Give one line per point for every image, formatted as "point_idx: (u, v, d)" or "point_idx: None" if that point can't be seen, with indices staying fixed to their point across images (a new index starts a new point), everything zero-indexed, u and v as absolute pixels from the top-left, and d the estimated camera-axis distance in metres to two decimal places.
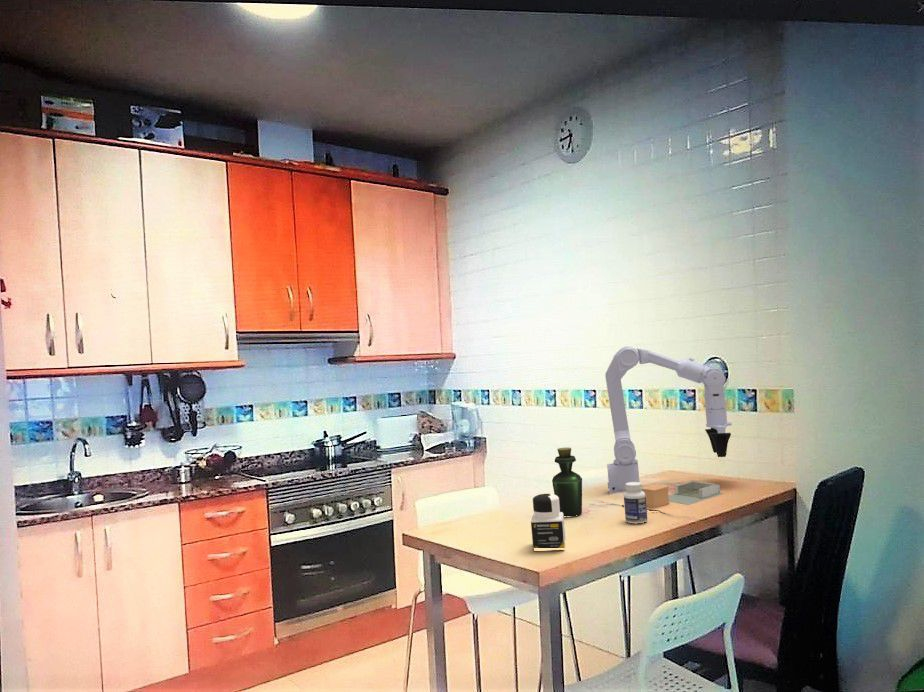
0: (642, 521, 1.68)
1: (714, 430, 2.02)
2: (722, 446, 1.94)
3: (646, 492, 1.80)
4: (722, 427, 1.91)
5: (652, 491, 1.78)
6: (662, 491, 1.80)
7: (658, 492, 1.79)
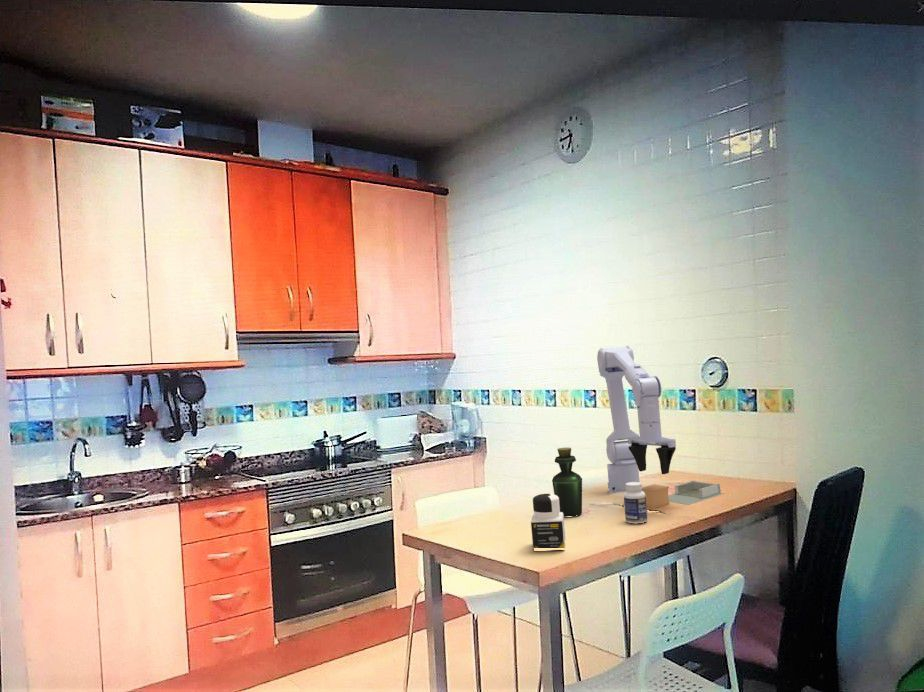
0: (642, 521, 1.68)
1: None
2: None
3: (646, 492, 1.80)
4: None
5: (652, 491, 1.78)
6: (662, 491, 1.80)
7: (658, 492, 1.79)
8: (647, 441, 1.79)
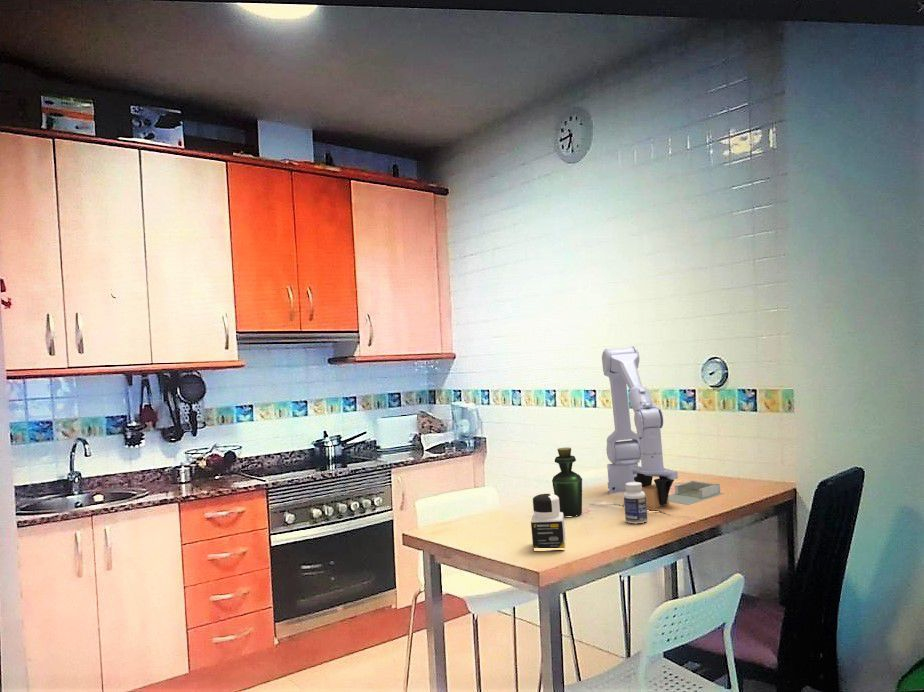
0: (642, 521, 1.68)
1: None
2: None
3: (646, 491, 1.80)
4: None
5: (652, 491, 1.78)
6: None
7: None
8: (649, 472, 1.79)
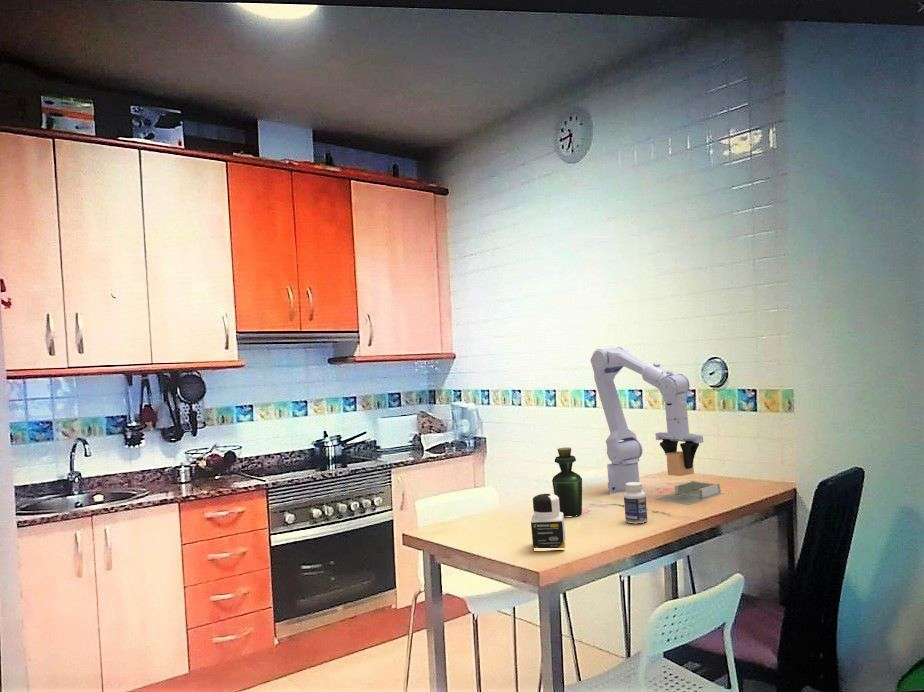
0: (642, 521, 1.68)
1: None
2: None
3: (671, 456, 1.85)
4: None
5: (677, 455, 1.83)
6: None
7: (683, 456, 1.84)
8: (675, 437, 1.84)
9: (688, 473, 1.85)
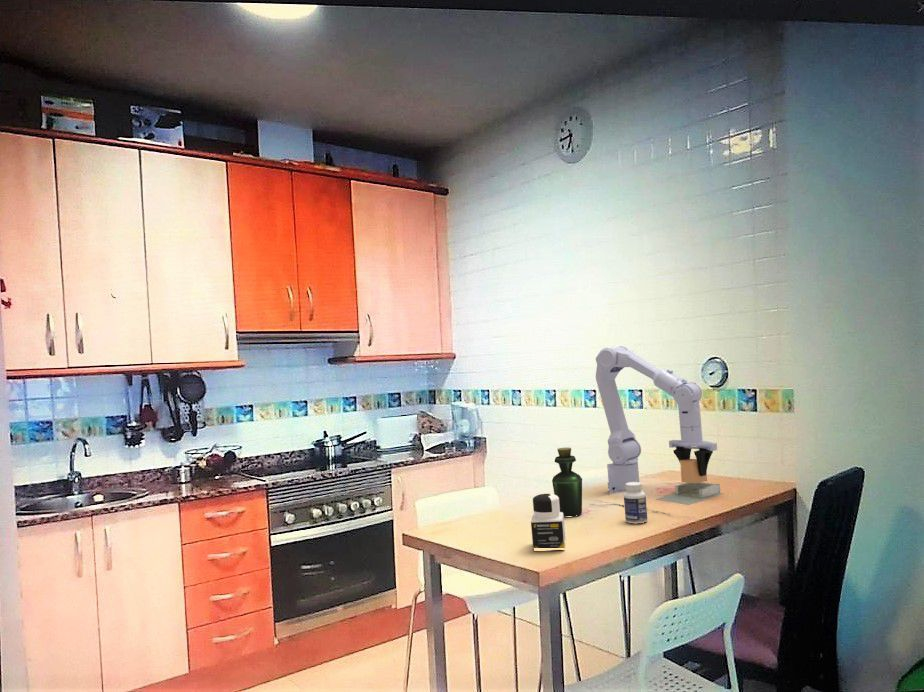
0: (642, 521, 1.68)
1: None
2: None
3: (685, 463, 1.87)
4: None
5: (691, 462, 1.86)
6: None
7: (697, 464, 1.87)
8: (689, 445, 1.86)
9: (702, 480, 1.87)
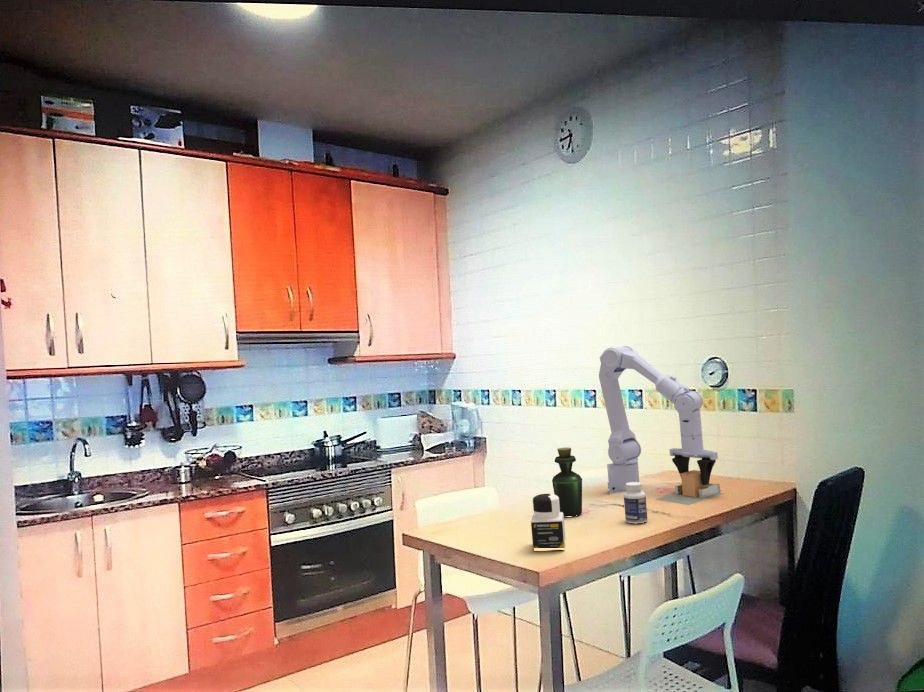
0: (642, 521, 1.68)
1: None
2: None
3: (686, 477, 1.87)
4: None
5: (692, 476, 1.85)
6: None
7: (698, 477, 1.86)
8: (690, 453, 1.86)
9: None
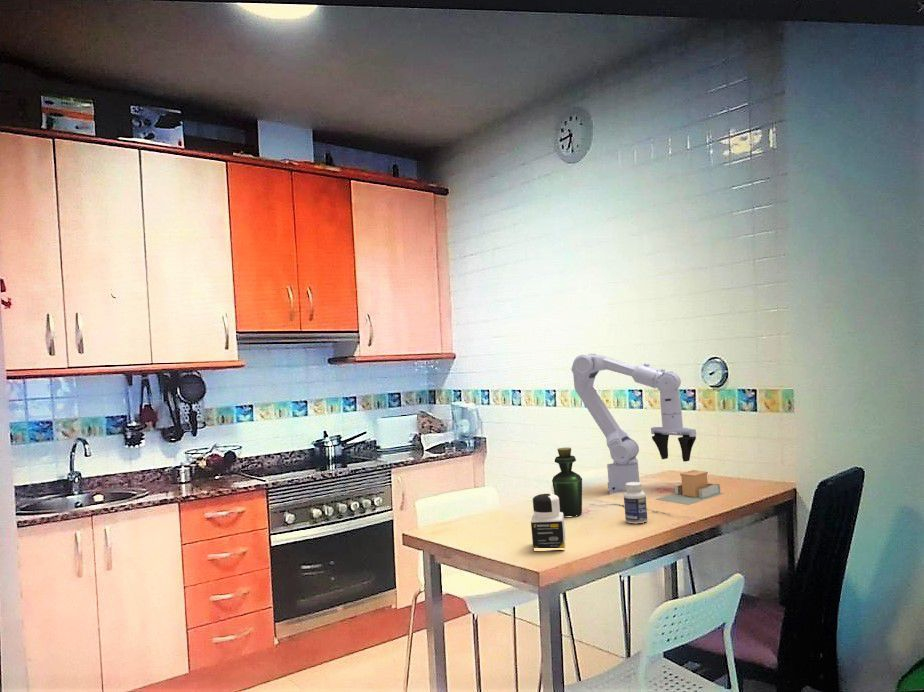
0: (642, 521, 1.68)
1: None
2: None
3: (686, 477, 1.87)
4: None
5: (692, 476, 1.85)
6: (701, 476, 1.87)
7: (698, 477, 1.86)
8: (669, 431, 1.94)
9: None
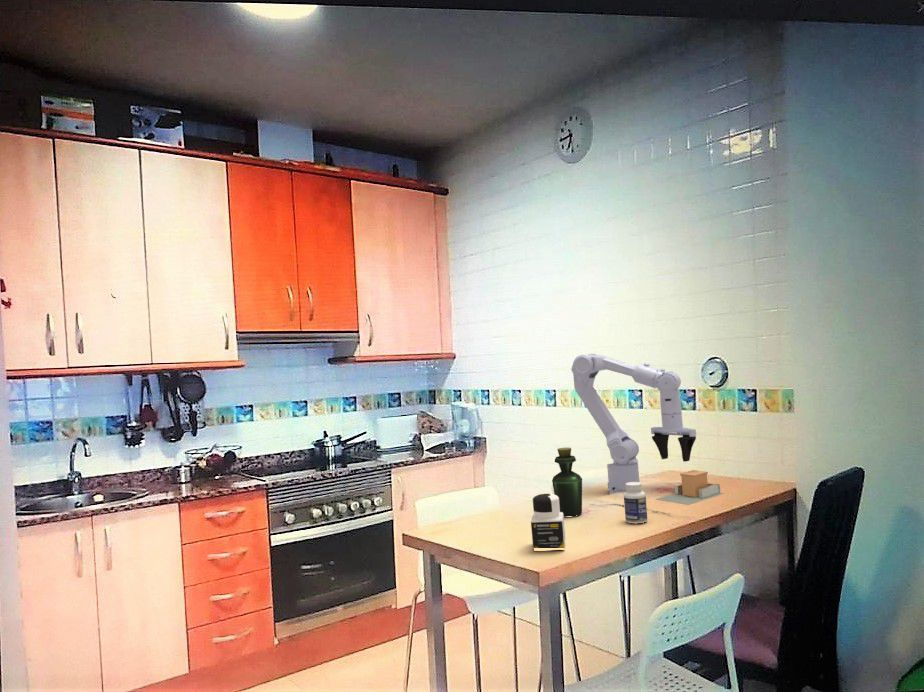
0: (642, 521, 1.68)
1: None
2: None
3: (686, 477, 1.87)
4: None
5: (692, 476, 1.85)
6: (701, 476, 1.87)
7: (698, 477, 1.86)
8: (669, 431, 1.94)
9: None
